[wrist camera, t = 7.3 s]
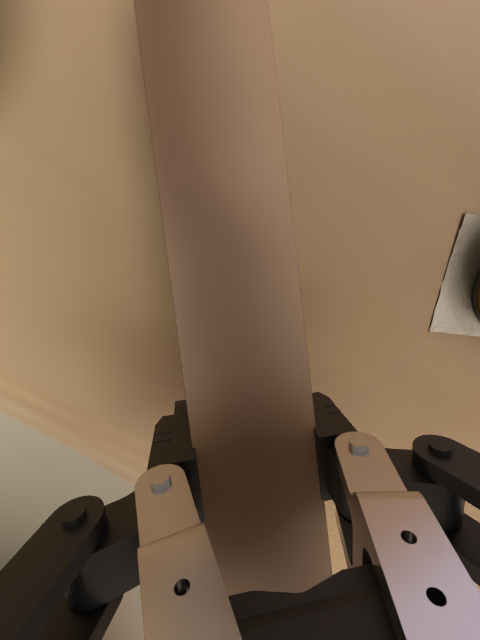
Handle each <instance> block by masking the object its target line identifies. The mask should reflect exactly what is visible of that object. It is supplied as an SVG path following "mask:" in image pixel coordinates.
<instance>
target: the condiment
mask: <svg viewBox="0 0 480 640" xmlns="http://www.w3.org/2000/svg"><path fill="white" fill-rule="evenodd" d="M464 299H465V300H466V301H467V303H464V302H463V300H464ZM467 304H469V305H470V307H467ZM430 331H431V332H439V333H450V334H457V335H468V336H478V337H480V215H476V214H471V213H466V215H465V218H464V220H463V224H462V227H461V228H460V230H459V233H458V237H457V240H456V242H455V245H454V249H453V253H452V255H451V257H450V260H449V264H448V267H447V271H446V274H445V278H444V281H443V282H442V285H441V292H440V296H439V300H438V303H437V305H436V308H435V311H434V317H433V321H432V324H431V327H430Z"/></svg>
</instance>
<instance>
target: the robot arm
mask: <svg viewBox="0 0 480 640" xmlns="http://www.w3.org/2000/svg"><path fill="white" fill-rule="evenodd" d="M312 398H313V407H314V416H315V425H316V427H314V437H315V446H316V455H317V464H318V473H319V482H320V491H321V499H324V501H327V500H333V501H334V503H335V508H336V521H337V525H338V529H339V533H340V538H341V542H342V546H343V550H344V554H345V558H346V563H347V567H348V569H345V570H341V571H339V572H338V573H336V574H334V575H332V576H331V577H329V578H327V579H326V580H324V581H322V582H320V583H319V584H317V585H315V586H314V587H312V588H310V589H308V590H307V591H305V592H301V593H289V592H272V591H255V590H252V591H248V592H243V593H239V594H235V595H230V596H228V595H227V592H226V589H225V586H224V583H223V580H222V576H221V573H220V570H219V567H218V564H217V561H216V558H215V555H214V552H213V549H212V546H211V543H210V540H209V537H208V534H207V531H206V528H205V525H204V523H203V522H202V521H203V520H205V519H204V511H203V504H202V496H201V488H200V481H199V473H198V465H197V458H196V450H195V448H192V441H191V433H190V425H189V418H188V410H187V403H186V400H180V401H176V402H175V411H174V415H169V416H163V417H162V418H161V419H160V420H159V422H158V423H157V424H156V425H155V430H154V436H153V441H152V447H151V452H150V457H149V463H148V468H147V471H146V472H145V473H144V474H142V475H141V476H140V477H139V479H138V480H137V482H136V485H135V491H134V492H132V493H131V494H129V495H128V496H126V497H124V498H122V499H120V500H117V501H115V502H113V503H110V504H108V505H106V506H104V503H103V501H102V500H101V499H100V498H98V497H96V496H82V497H78V498H75V499H73V500H71V501H68V502H67V503H65V504H63V505H62V506H60V507H59V508H58V509H57V510H55V511H54V512H53V514H51V516H50V517H49V518H48V519H47V520H46V521H45V522H44V523H43V524H42V525H41V527H40V528H39V529H38V530H37V531H36V532H35V533H34V534H33V536H32V537H31V538H30V539H29V540H28V541H27V542H26V543H25V544H24V545H23V547H22V548H21V549H20V550H19V551H18V552H17V553H16V554H15V555H14V557H13V558H12V559H11V560H10V561H9V562H8V563H7V564H6V565H5V566H4V568H3V569H2V570H1V571H0V640H101V639H102V637H103V635H104V634H105V632H106V630H107V628H108V626H109V624H110V622H111V620H112V618H113V616H114V614H115V612H116V610H117V608H118V606H119V604H120V602H121V600H122V598H123V594H124V593H125V592H127V591H129V590H131V589H132V588H134V587H136V586H138V585H140V591H141V603H142V615H143V628H144V640H480V593H479V591H478V589H477V588H476V586H475V584H474V582H475V583H477V584H478V585H479V586H480V523H479V522H477V521H476V520H474V519H473V518H471V517H470V516H468V515H467V514H465V513H464V504H465V501H467V502H468V503H470V504H472V505H473V506H475V507H476V508H478V509H480V453H479V452H477V451H475V450H473V449H470V448H468V447H466V446H464V445H462V444H460V443H458V442H456V441H454V440H452V439H449V438H446V437H443V436H438V435H422V436H419V437H417V438H416V439H415V440H414V441H413V447H412V450H404V449H389V448H384V446H383V445H382V443H381V442H380V441H379V440H378V439H377V438H375V437H374V436H372V435H369V434H366V433H363V432H358V431H357V430H356V429H355V428H354V427H353V425H352V424H351V423H350V422H349V421H348V419H347V418H346V417H345V416H344V415H343V414H342V413H341V411H340V410H339V409H338V408H337V407H336V406H335V404H334V403H333V402H332V401H331V399H330V398H329V397H327V396H325V395H323V394H321V393H319V392H316V393H312ZM472 580H473V581H474V582H473V581H472Z"/></svg>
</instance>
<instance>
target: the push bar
mask: <svg viewBox="0 0 480 640" xmlns="http://www.w3.org/2000/svg"><path fill="white" fill-rule="evenodd" d="M134 7H135V15H136V23H137V30H138V38H139V45H140V53H141V61H142V68H143V76H144V83H145V91H146V99H147V106H148V114H149V121H150V129H151V137H152V144H153V152H154V159H155V167H156V175H157V182H158V190H159V197H160V205H161V213H162V220H163V228H164V235H165V243H166V251H167V258H168V266H169V273H170V281H171V289H172V296H173V304H174V311H175V319H176V327H177V334H178V342H179V349H180V357H181V365H182V372H183V380H184V387H185V395H186V403H187V410H188V418H189V425H190V433H191V441H192V448H195V450H196V458H197V465H198V473H199V481H200V488H201V496H202V504H203V511H204V519H205V520H203V521H202V522H203V523H204V525H205V528H206V531H207V534H208V537H209V540H210V543H211V546H212V549H213V552H214V555H215V558H216V561H217V564H218V567H219V570H220V573H221V576H222V580H223V583H224V586H225V589H226V592H227V595H228V596H230V595H235V594H239V593H243V592H248V591H252V590H255V591H272V592H289V593H301V592H305V591H307V590H308V589H310V588H312V587H314V586H315V585H317V584H319V583H320V582H322V581H324V580H326V579H327V578H329V577H331V576H332V567H331V558H330V549H329V540H328V531H327V522H326V513H325V505H324V499H321V491H320V482H319V473H318V464H317V455H316V446H315V437H314V427H316V425H315V416H314V407H313V398H312V389H311V380H310V371H309V362H308V354H307V345H306V336H305V327H304V318H303V309H302V300H301V291H300V283H299V274H298V265H297V256H296V247H295V238H294V229H293V220H292V212H291V203H290V194H289V185H288V176H287V167H286V158H285V149H284V140H283V132H282V123H281V114H280V105H279V96H278V87H277V78H276V69H275V61H274V52H273V43H272V34H271V25H270V16H269V7H268V0H134Z"/></svg>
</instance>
